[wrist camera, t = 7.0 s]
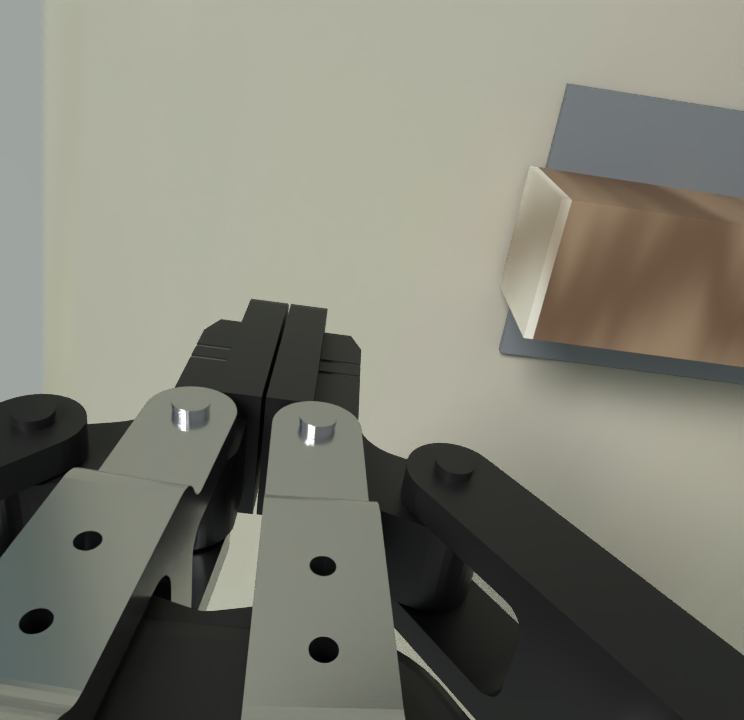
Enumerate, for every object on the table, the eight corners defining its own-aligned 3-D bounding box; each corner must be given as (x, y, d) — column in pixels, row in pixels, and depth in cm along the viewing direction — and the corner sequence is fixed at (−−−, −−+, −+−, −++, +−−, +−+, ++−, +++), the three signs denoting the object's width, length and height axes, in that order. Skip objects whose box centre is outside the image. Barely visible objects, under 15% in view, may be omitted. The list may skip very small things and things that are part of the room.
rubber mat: (566, 83, 23) (569, 84, 22) (905, 136, 23) (911, 138, 23) (498, 349, 27) (500, 352, 27) (783, 386, 28) (787, 389, 28)
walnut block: (562, 198, 20) (887, 246, 20) (529, 166, 24) (803, 206, 24) (523, 337, 22) (820, 377, 22) (499, 286, 26) (752, 321, 26)
